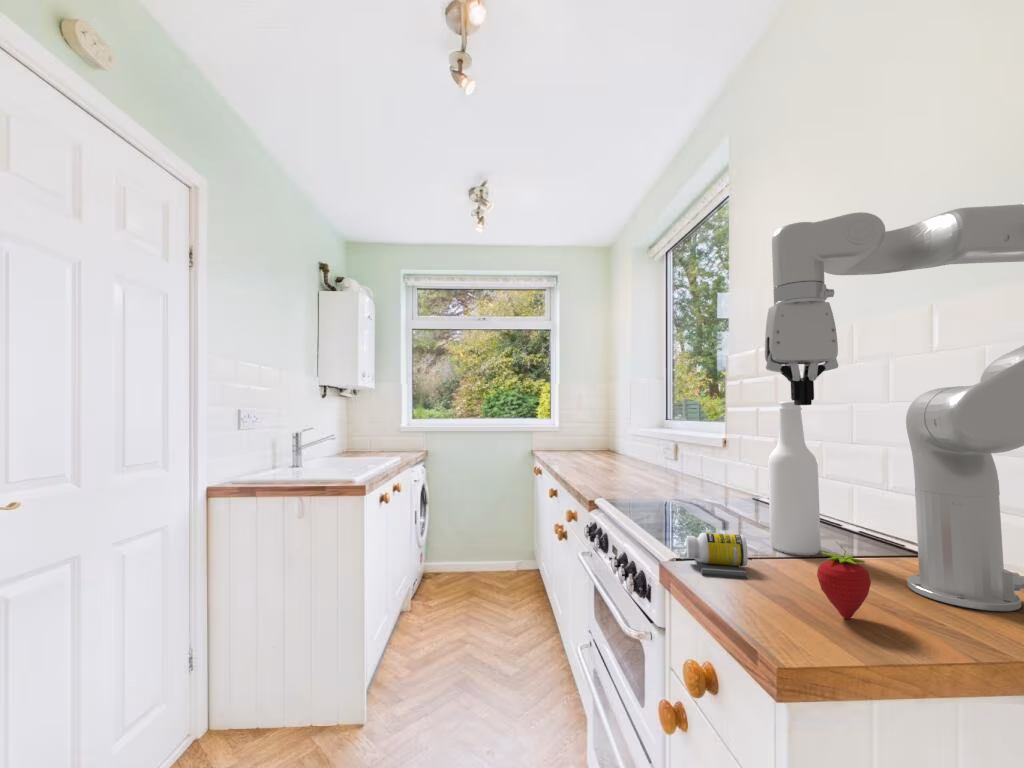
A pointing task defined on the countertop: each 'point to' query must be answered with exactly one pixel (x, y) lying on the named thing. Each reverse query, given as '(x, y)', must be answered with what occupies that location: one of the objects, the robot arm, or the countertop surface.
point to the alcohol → (793, 488)
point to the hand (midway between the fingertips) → (802, 404)
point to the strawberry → (844, 582)
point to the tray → (720, 570)
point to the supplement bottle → (718, 549)
